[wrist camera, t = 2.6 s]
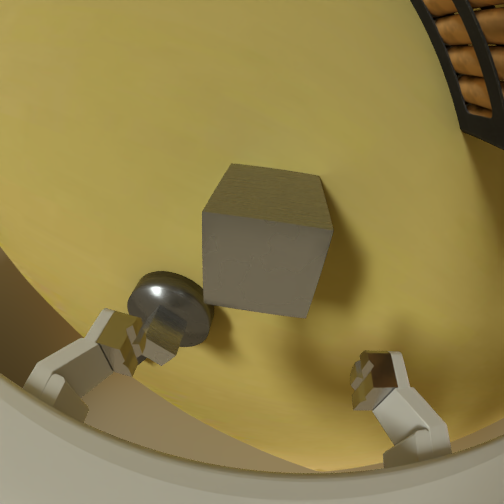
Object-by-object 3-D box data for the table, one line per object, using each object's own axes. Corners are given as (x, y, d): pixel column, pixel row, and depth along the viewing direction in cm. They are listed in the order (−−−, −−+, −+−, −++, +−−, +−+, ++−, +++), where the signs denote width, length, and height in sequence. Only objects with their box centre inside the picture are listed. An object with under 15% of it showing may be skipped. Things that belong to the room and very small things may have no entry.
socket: (231, 163, 15) (202, 211, 10) (319, 176, 15) (333, 230, 10) (226, 236, 18) (203, 303, 13) (303, 248, 18) (305, 318, 13)
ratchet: (157, 255, 20) (127, 305, 16) (230, 305, 22) (218, 360, 18) (104, 333, 28) (86, 368, 24) (154, 364, 30) (141, 400, 26)
